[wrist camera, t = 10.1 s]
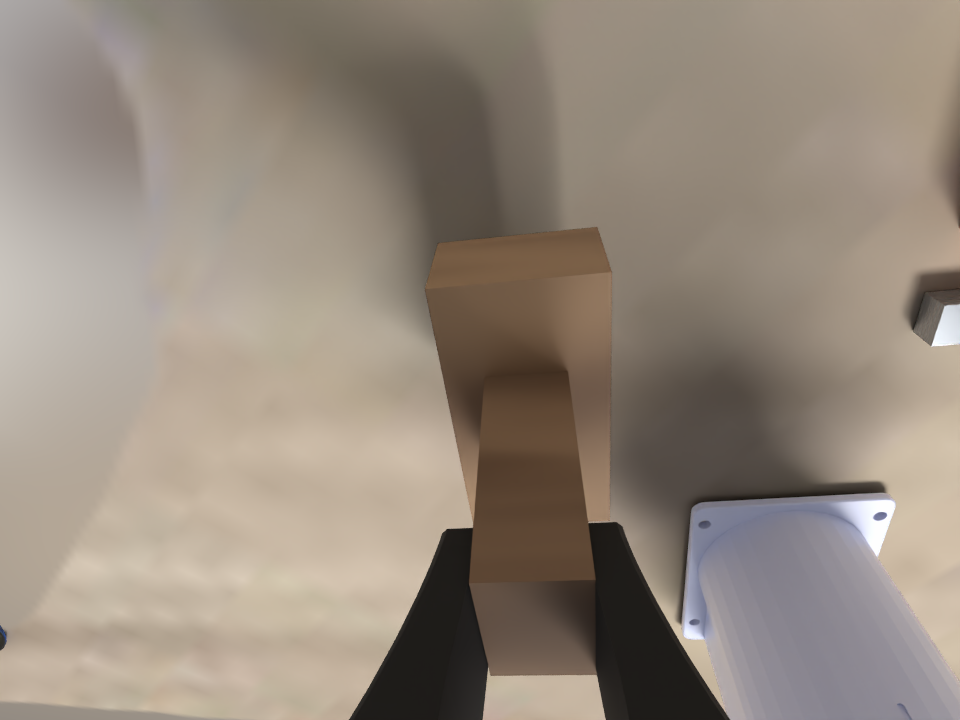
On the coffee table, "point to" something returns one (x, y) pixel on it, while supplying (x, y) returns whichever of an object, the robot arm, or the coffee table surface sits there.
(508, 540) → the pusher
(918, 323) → the frame
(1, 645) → the handheld game console
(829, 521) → the robot arm
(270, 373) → the coffee table surface
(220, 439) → the coffee table surface
